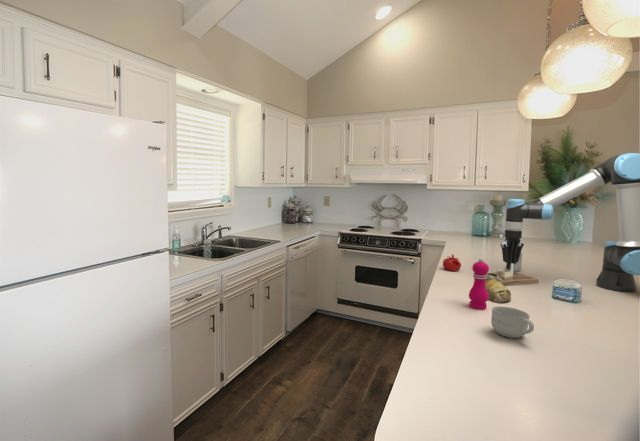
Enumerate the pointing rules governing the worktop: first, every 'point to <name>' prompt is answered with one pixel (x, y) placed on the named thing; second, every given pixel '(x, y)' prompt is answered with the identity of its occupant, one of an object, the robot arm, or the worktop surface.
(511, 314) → the teacup
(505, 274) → the birch block
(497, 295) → the pastry
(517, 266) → the can
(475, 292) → the pepper mill
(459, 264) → the pomegranate
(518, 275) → the board
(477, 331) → the worktop surface
